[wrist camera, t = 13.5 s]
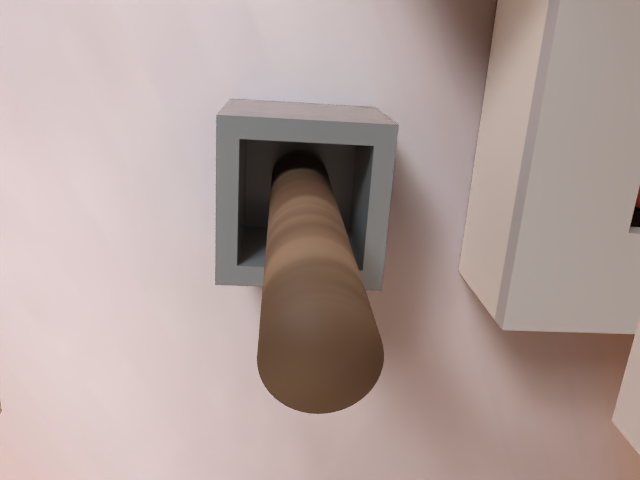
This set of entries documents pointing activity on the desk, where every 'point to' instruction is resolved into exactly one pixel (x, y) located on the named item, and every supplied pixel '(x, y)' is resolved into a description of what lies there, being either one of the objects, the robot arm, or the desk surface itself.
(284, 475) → the desk surface
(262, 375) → the brown wooden rod
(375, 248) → the pen cup
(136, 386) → the desk surface
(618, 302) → the white box
